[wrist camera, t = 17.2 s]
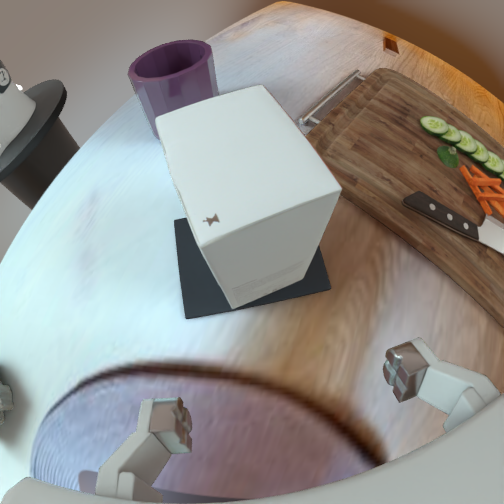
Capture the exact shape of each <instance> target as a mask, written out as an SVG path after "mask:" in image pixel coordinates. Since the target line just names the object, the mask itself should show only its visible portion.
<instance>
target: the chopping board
mask: <svg viewBox="0 0 504 504" xmlns="http://www.w3.org/2000/svg"><path fill="white" fill-rule="evenodd" d="M359 74H360V71H359V70H356V71H354V72H353V73H352V74H351V75H349V76H348V77H347V78H346V79H345V80H343V81H342V82H341V83H340V84H339V85H337V86H336V87H335V88H334V89H333V90H331V91H330V92H329V93H328V94H327V95H326V96H324V97H323V98H322V99H321V100H320V101H319V102H317V103H316V104H315V105H314V106H313V107H312V108H311V109H309V110H308V111H307V112H306V113H305V114H304V115H303V116H301V117H300V118H299V119H298V122H299V123H300V124H302V125H303V124H304V123H305V122H307V121H308V120H310V121H312V122H314V123H316V124H317V125H316V126H315V127H314V128H313V129H312V130H311V131H310V132H309V133H308V134H307V135H306V138H307V139H308V141H309V142H310V143H311V144H312V146H313V147H314V148H315V150H316V151H317V153H318V154H319V155H320V157H321V158H322V159H323V161H324V162H325V164H326V165H327V166H328V168H329V169H330V171H331V172H332V174H333V175H334V176H335V178H336V179H337V181H338V182H339V184H340V185H341V187H342V191H341V193H340V194H341V195H342V196H344V197H345V198H347V199H348V200H350V201H351V202H353V203H354V204H356V205H357V206H358V207H360V208H361V209H363V210H364V211H366V212H367V213H368V214H370V215H371V216H373V217H374V218H376V219H377V220H378V221H380V222H381V223H382V224H384V225H385V226H387V227H388V228H389V229H391V230H392V231H393V232H395V233H396V234H397V235H399V236H400V237H401V238H403V239H404V240H405V241H406V242H408V243H409V244H410V245H412V246H413V247H414V248H415V249H417V250H418V251H419V252H420V253H422V254H423V255H424V256H425V257H427V258H428V259H429V260H430V261H432V262H433V263H434V264H435V265H436V266H438V267H439V268H440V269H441V270H442V271H443V272H445V273H446V274H447V275H448V276H449V277H450V278H452V279H453V280H454V281H455V282H456V283H457V284H458V285H460V286H461V287H462V288H463V289H464V290H465V291H466V292H467V293H468V294H469V295H471V296H472V297H473V298H474V299H475V300H476V301H477V302H478V303H479V304H480V305H481V306H482V307H483V308H484V309H485V310H486V311H487V312H488V313H490V314H491V315H492V316H493V317H494V318H495V319H496V320H497V321H498V322H499V323H500V325H501V326H502V327H503V328H504V148H503V147H502V146H501V145H500V144H499V143H498V142H497V141H496V140H495V139H494V138H492V137H491V136H490V135H489V134H488V133H487V132H485V131H484V130H483V129H482V128H481V127H479V126H478V125H477V124H476V123H474V122H473V121H472V120H471V119H469V118H468V117H467V116H466V115H464V114H463V113H462V112H460V111H459V110H457V109H456V108H455V107H453V106H452V105H451V104H449V103H448V102H446V101H445V100H443V99H442V98H440V97H439V96H437V95H436V94H434V93H433V92H431V91H430V90H428V89H427V88H425V87H423V86H422V85H420V84H418V83H417V82H415V81H413V80H412V79H410V78H408V77H406V76H405V75H403V74H401V73H399V72H397V71H394V70H391V69H387V68H379V69H377V70H375V71H374V72H373V73H371V74H370V75H369V76H368V77H367V78H364V77H362V76H360V75H359ZM355 78H359V79H361V80H363V82H362V83H361V84H359V85H358V86H357V87H356V88H355V89H354V90H353V91H352V92H351V93H350V94H349V95H348V96H347V97H345V98H344V99H343V100H342V101H341V102H340V103H339V104H338V105H337V106H336V107H335V108H334V109H333V110H332V111H331V112H330V113H329V114H328V115H327V116H326V117H324V118H323V119H322V120H321V121H320V120H318V119H316V118H314V117H312V116H313V115H314V114H315V113H316V112H317V111H319V110H320V109H321V108H322V107H323V106H324V105H325V104H326V103H327V102H328V101H330V100H331V99H332V98H333V97H334V96H335V95H336V94H337V93H339V92H340V91H341V90H342V89H343V88H344V87H345V86H347V85H348V84H349V83H350V82H351V81H352V80H353V79H355Z"/></svg>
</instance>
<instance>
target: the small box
mask: <svg viewBox="0 0 504 504" xmlns="http://www.w3.org/2000/svg"><path fill="white" fill-rule="evenodd" d="M155 123H156V127H157V131H158V134H159V138H160V141H161V145H162V148H163V151H164V155H165V158H166V162H167V165H168V169H169V172H170V175H171V178H172V181H173V184H174V187H175V189H176V191H177V193H178V196H179V198H180V201H181V204H182V206H183V209H184V212H185V214H186V217H187V220H188V222H189V225H190V228H191V230H192V233H193V235H194V238H195V240H196V243H197V245H198V247H199V249H200V251H201V253H202V255H203V257H204V259H205V260H206V262H207V264H208V266H209V268H210V270H211V271H212V273H213V275H214V277H215V279H216V281H217V282H218V284H219V286H220V287H221V289H222V291H223V292H224V294H225V296H226V298H227V300H228V302H229V304H230V306H231V308H232V309H235V308H237V307H239V306H242V305H244V304H246V303H249V302H251V301H254V300H256V299H258V298H261V297H263V296H265V295H267V294H270V293H272V292H274V291H277V290H279V289H281V288H284V287H286V286H288V285H291V284H293V283H295V282H297V281H300V280H302V279H303V278H304V276H305V273H306V271H307V269H308V267H309V265H310V263H311V261H312V259H313V256H314V254H315V252H316V249H317V247H318V245H319V243H320V241H321V238H322V236H323V233H324V231H325V229H326V226H327V224H328V222H329V220H330V217H331V215H332V212H333V210H334V208H335V205H336V203H337V200H338V198H339V196H340V193H341V191H342V187H341V185H340V184H339V182H338V181H337V179H336V178H335V176H334V175H333V174H332V172H331V171H330V169H329V168H328V166H327V165H326V164H325V162H324V161H323V159H322V158H321V157H320V155H319V154H318V153H317V151H316V150H315V148H314V147H313V146H312V144H311V143H310V142H309V141H308V139H307V138H306V137H305V135H304V134H303V133H302V132H301V130H300V129H299V128H298V126H297V125H296V124H295V122H294V121H293V120H292V119H291V117H290V116H289V115H288V114H287V113H286V111H285V110H284V109H283V108H282V106H281V105H280V104H279V103H278V102H277V101H276V99H275V98H274V97H273V96H272V95H271V93H270V92H269V91H268V90H267V89H266V88H265V87H264V85H257V86H253V87H249V88H245V89H241V90H237V91H234V92H230V93H226V94H223V95H219V96H216V97H213V98H209V99H206V100H203V101H200V102H197V103H194V104H191V105H188V106H185V107H183V108H180V109H177V110H174V111H172V112H169V113H166V114H164V115H161V116H158V117H156V119H155Z"/></svg>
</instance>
